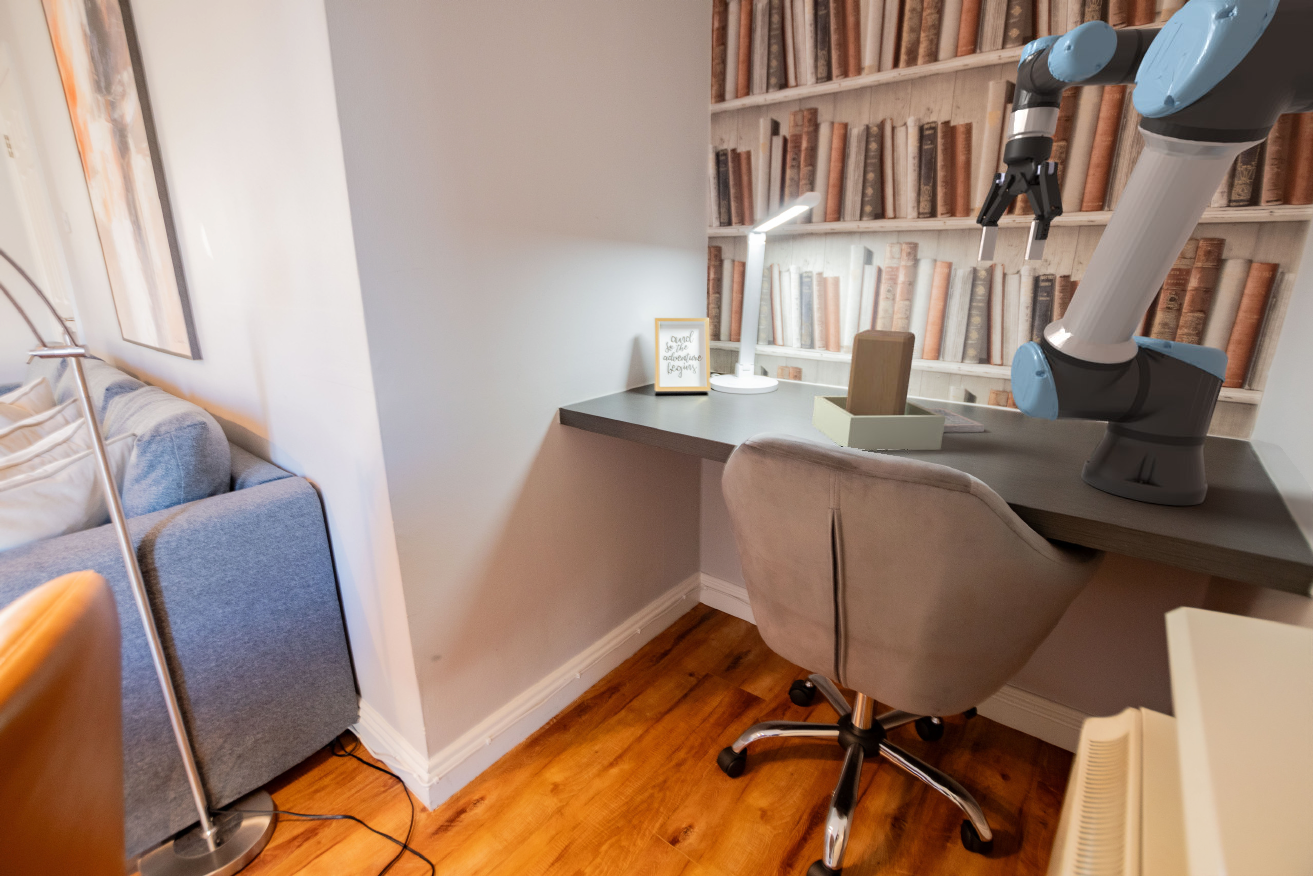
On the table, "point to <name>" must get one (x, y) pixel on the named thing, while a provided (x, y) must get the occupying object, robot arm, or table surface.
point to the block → (880, 373)
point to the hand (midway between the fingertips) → (1007, 260)
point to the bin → (878, 426)
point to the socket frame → (963, 422)
